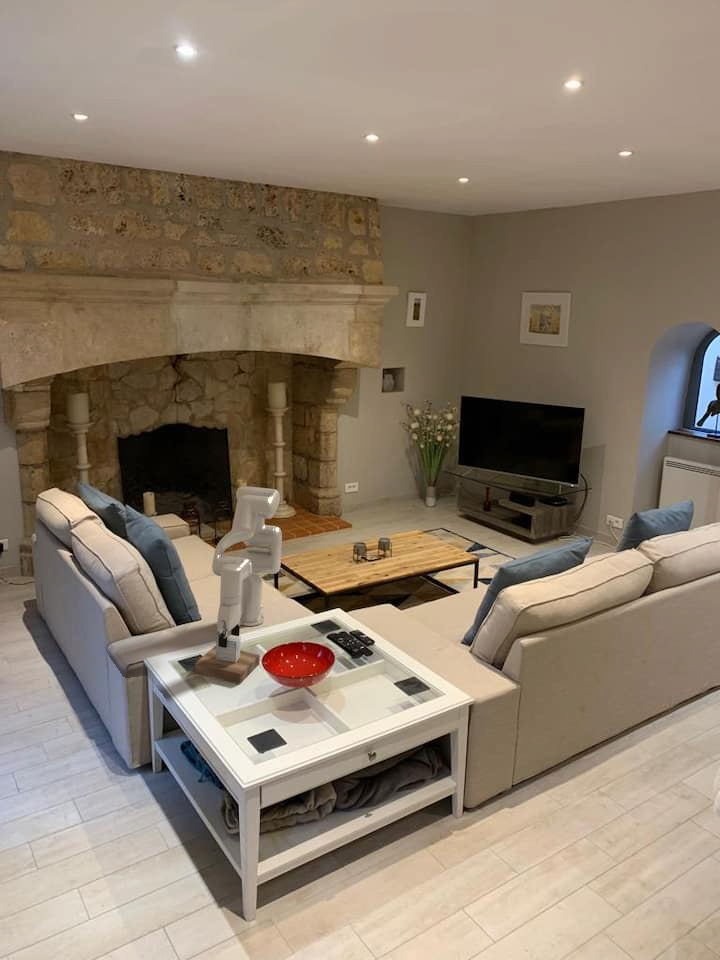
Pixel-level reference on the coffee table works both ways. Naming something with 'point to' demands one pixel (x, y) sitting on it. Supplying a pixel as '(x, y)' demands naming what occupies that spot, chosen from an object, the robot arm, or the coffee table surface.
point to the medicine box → (229, 649)
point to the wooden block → (227, 666)
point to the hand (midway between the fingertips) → (229, 641)
